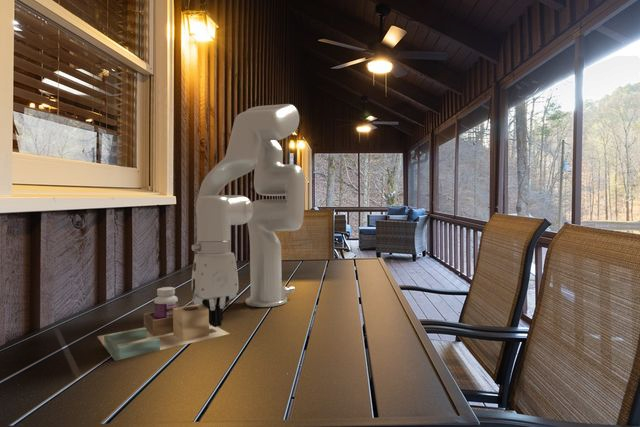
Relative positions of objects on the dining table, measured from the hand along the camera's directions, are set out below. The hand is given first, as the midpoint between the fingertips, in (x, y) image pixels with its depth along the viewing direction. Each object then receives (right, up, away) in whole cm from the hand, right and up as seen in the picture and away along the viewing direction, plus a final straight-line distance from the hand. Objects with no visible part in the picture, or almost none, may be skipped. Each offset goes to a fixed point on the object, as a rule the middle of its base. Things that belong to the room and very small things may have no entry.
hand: (215, 325), depth 96 cm
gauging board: (-11, -2, -3) cm, 12 cm away
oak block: (-5, -1, -4) cm, 6 cm away
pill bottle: (-12, -1, +1) cm, 12 cm away
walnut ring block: (-12, -1, +1) cm, 12 cm away
